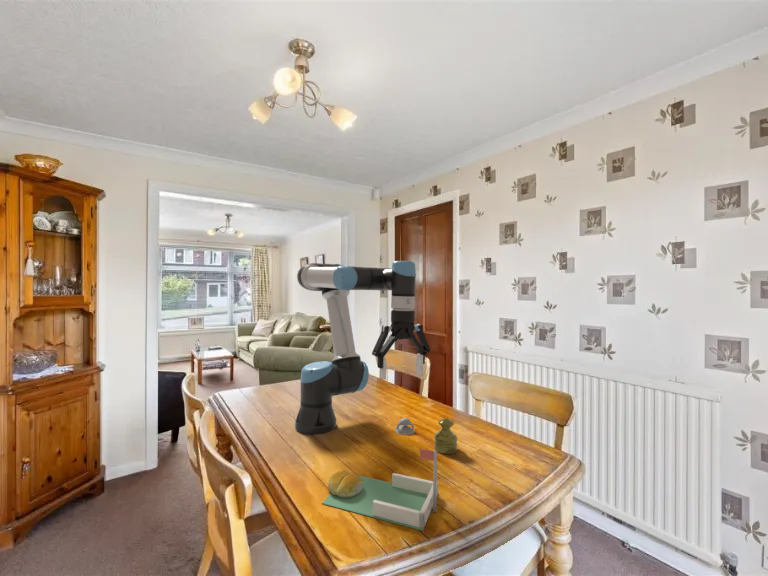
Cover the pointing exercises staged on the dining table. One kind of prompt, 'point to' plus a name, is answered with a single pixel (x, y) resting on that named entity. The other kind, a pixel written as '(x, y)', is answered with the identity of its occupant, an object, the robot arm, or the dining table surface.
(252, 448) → the dining table surface
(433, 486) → the white u-shaped piece
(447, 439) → the olive green sack
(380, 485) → the green mat
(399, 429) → the miniature
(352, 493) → the bread roll
